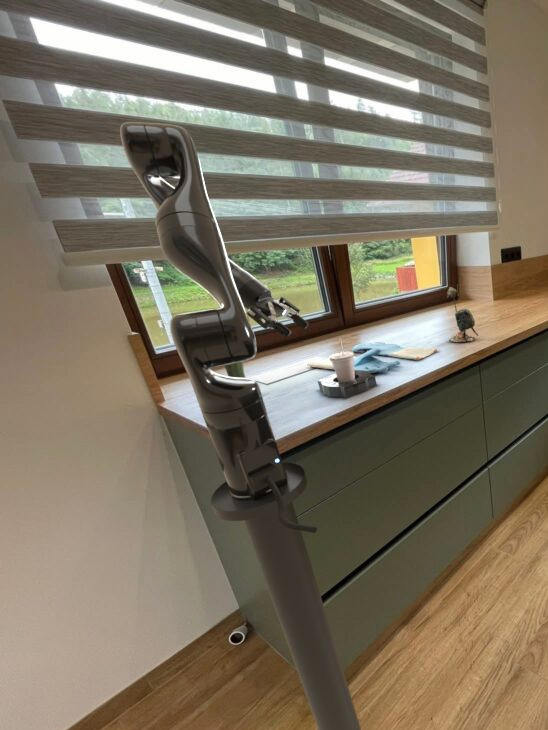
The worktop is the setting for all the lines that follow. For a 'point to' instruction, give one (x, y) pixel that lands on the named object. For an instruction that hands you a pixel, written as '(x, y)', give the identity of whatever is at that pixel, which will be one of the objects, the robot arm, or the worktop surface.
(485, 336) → the worktop surface
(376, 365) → the rubber gloves
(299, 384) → the worktop surface
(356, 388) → the board
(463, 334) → the ostrich figurine
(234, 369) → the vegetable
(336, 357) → the smoothie
